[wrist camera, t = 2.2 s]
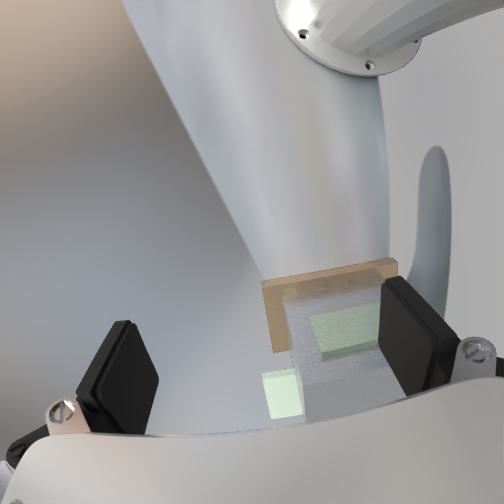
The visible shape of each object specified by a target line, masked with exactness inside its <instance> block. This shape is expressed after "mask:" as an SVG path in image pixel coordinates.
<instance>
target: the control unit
mask: <svg viewBox="0 0 504 504" xmlns="http://www.w3.org/2000/svg"><path fill="white" fill-rule="evenodd" d="M397 273H398V262H396V261H395V260H394V259H393V258H387V259H382V260H377V261H372V262H367V263H362V264H356V265H351V266H346V267H340V268H335V269H329V270H324V271H318V272H313V273H307V274H301V275H296V276H290V277H284V278H278V279H272V280H266V281H261V284H262V291H263V297H264V302H265V308H266V314H267V320H268V325H269V332H270V337H271V343H272V349H273V353H276V352H283V351H288V350H290V353H291V358H292V363H293V368H294V373H295V378H296V383H297V387H298V392H299V397H300V402H301V407H302V412H303V417H304V422H308V421H314V420H319V419H324V418H328V417H333V416H338V415H342V414H346V413H350V412H354V411H358V410H362V409H366V408H370V407H373V406H377V405H381V404H384V403H388V402H391V401H394V400H398V399H401V398H404V397H406V395H405V393H404V391H403V389H402V388H401V386H400V384H399V382H398V380H397V378H396V377H395V375H394V373H393V371H392V369H391V368H390V366H389V364H388V362H387V361H386V359H385V357H384V355H383V354H382V352H381V350H380V348H379V345H378V333H379V319H380V300H381V285H382V283H385V280H386V279H387V278H391V277H396V276H397Z"/></svg>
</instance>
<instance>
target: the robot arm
mask: <svg viewBox="0 0 504 504" xmlns="http://www.w3.org/2000/svg"><path fill="white" fill-rule="evenodd" d="M274 4H275V9H276V13H277V17H278V19H279V21H280V23H281V25H282V27H283V29H284V30H285V32H286V33H287V34H288V36H289V37H290V39H291V40H292V41H293V42H294V43H295V44H296V45H297V46H298V47H299V48H300V49H301V50H302V51H303V52H305V53H306V54H307V55H309V56H310V57H311V58H313V59H314V60H316V61H318V62H319V63H321V64H323V65H325V66H327V67H328V68H331V69H334V70H337V71H339V72H342V73H345V74H350V75H355V76H367V77H373V76H380V75H385V74H388V73H391V72H394V71H396V70H398V69H400V68H402V67H404V66H405V65H406V64H408V63H409V62H410V61H411V60H412V59H413V58H414V56H415V55H416V53H417V52H418V50H419V47H420V45H421V41H422V37H425V36H427V35H429V34H432V33H434V32H436V31H439V30H441V29H444V28H446V27H449V26H451V25H454V24H456V23H459V22H462V21H464V20H467V19H470V18H472V17H475V16H478V15H481V14H484V13H487V12H490V11H493V10H496V9H499V8H503V7H504V0H274ZM299 35H303V36H304V37H305V39H302V38H300V37H299ZM365 65H367V66H368V67H369V69H367V68H366V66H365ZM378 345H379V348H380V350H381V352H382V354H383V355H384V357H385V359H386V361H387V362H388V364H389V366H390V368H391V369H392V371H393V373H394V375H395V377H396V378H397V380H398V382H399V384H400V386H401V388H402V389H403V391H404V393H405V395H406V397H404V398H401V399H398V400H394V401H391V402H388V403H384V404H381V405H377V406H373V407H370V408H366V409H362V410H358V411H354V412H350V413H346V414H342V415H338V416H333V417H328V418H324V419H319V420H314V421H308V422H303V423H297V424H291V425H285V426H279V427H271V428H264V429H256V430H247V431H237V432H225V433H210V434H190V435H144V434H145V430H146V426H147V423H148V419H149V415H150V412H151V408H152V404H153V401H154V397H155V393H156V390H157V387H158V382H159V377H158V374H157V372H156V369H155V367H154V365H153V363H152V361H151V359H150V356H149V354H148V352H147V350H146V347H145V345H144V343H143V340H142V338H141V336H140V333H139V331H138V329H137V326H136V325H135V324H134V323H131V321H130V320H125V321H116V322H115V323H114V324H113V326H112V328H111V329H110V331H109V333H108V334H107V336H106V338H105V340H104V341H103V343H102V345H101V347H100V348H99V350H98V352H97V354H96V355H95V357H94V359H93V361H92V362H91V364H90V366H89V368H88V370H87V371H86V373H85V375H84V377H83V379H82V381H81V383H80V384H79V386H78V388H77V390H76V394H77V395H78V396H77V398H76V400H75V399H73V398H62V399H60V400H57V401H56V402H54V403H53V404H52V405H51V406H50V407H49V408H48V410H47V412H46V423H47V424H46V425H44V426H42V427H40V428H39V429H37V430H35V431H33V432H31V433H29V434H28V435H26V436H24V437H22V438H20V439H18V440H16V441H15V442H14V443H12V444H11V446H10V447H9V449H8V451H7V454H6V458H7V462H5V461H3V460H2V461H1V462H0V504H504V358H499V357H496V355H497V354H496V349H495V347H494V345H493V344H492V343H491V342H490V341H488V340H486V339H484V338H480V337H469V338H466V339H464V340H462V341H461V340H460V339H459V338H458V337H457V335H456V333H455V332H454V331H453V330H452V329H451V328H450V327H449V326H448V325H447V323H446V322H445V321H444V320H443V319H442V318H441V317H440V316H439V315H438V314H437V312H436V311H435V310H434V309H433V308H432V307H431V306H430V305H429V304H428V303H427V302H426V301H425V300H424V299H423V298H422V297H421V296H420V295H419V294H418V293H417V292H416V291H415V290H414V289H413V288H412V287H411V285H410V284H409V283H408V282H407V281H406V280H405V279H404V278H403V277H401V276H396V277H391V278H387V279H386V280H385V283H382V285H381V300H380V319H379V333H378Z"/></svg>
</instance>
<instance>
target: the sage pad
mask: <svg viewBox="0 0 504 504" xmlns="http://www.w3.org/2000/svg"><path fill="white" fill-rule="evenodd" d="M262 379H263V384H264V388H265V393H266V398H267V402H268V407H269V411H270V416H271V419H276V418H283V417H289V416H295V415H301V414H303V412H302V407H301V402H300V397H299V392H298V387H297V383H296V378H295V373H294V368H289V369H284V370H278V371H271V372H264V373H262Z"/></svg>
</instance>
